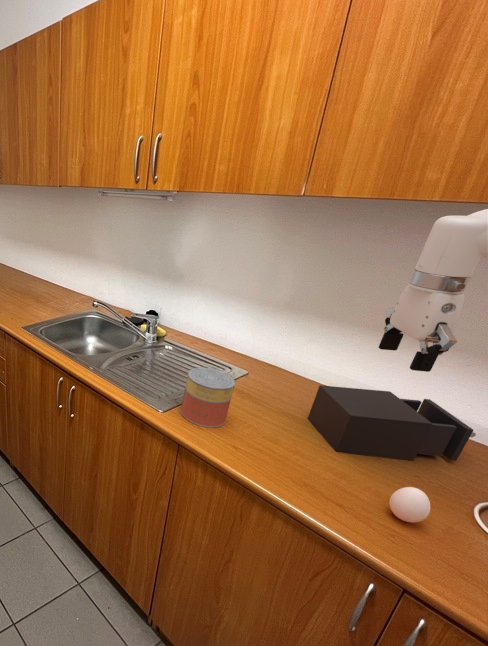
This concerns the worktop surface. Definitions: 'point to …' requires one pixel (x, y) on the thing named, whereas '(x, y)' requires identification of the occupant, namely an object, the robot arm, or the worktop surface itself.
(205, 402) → the canned food
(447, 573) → the worktop surface
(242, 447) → the worktop surface
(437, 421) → the black open angular box
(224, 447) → the worktop surface
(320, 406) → the dark brown box
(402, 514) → the egg
